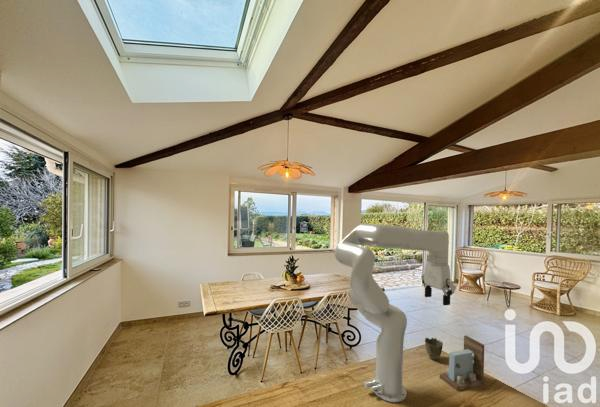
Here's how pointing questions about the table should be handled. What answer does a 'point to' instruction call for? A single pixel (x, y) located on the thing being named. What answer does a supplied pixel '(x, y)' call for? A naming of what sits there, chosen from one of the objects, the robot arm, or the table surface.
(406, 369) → the table surface
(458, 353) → the door
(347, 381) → the table surface
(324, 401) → the table surface
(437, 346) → the cup
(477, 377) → the cabinet base
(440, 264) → the robot arm
